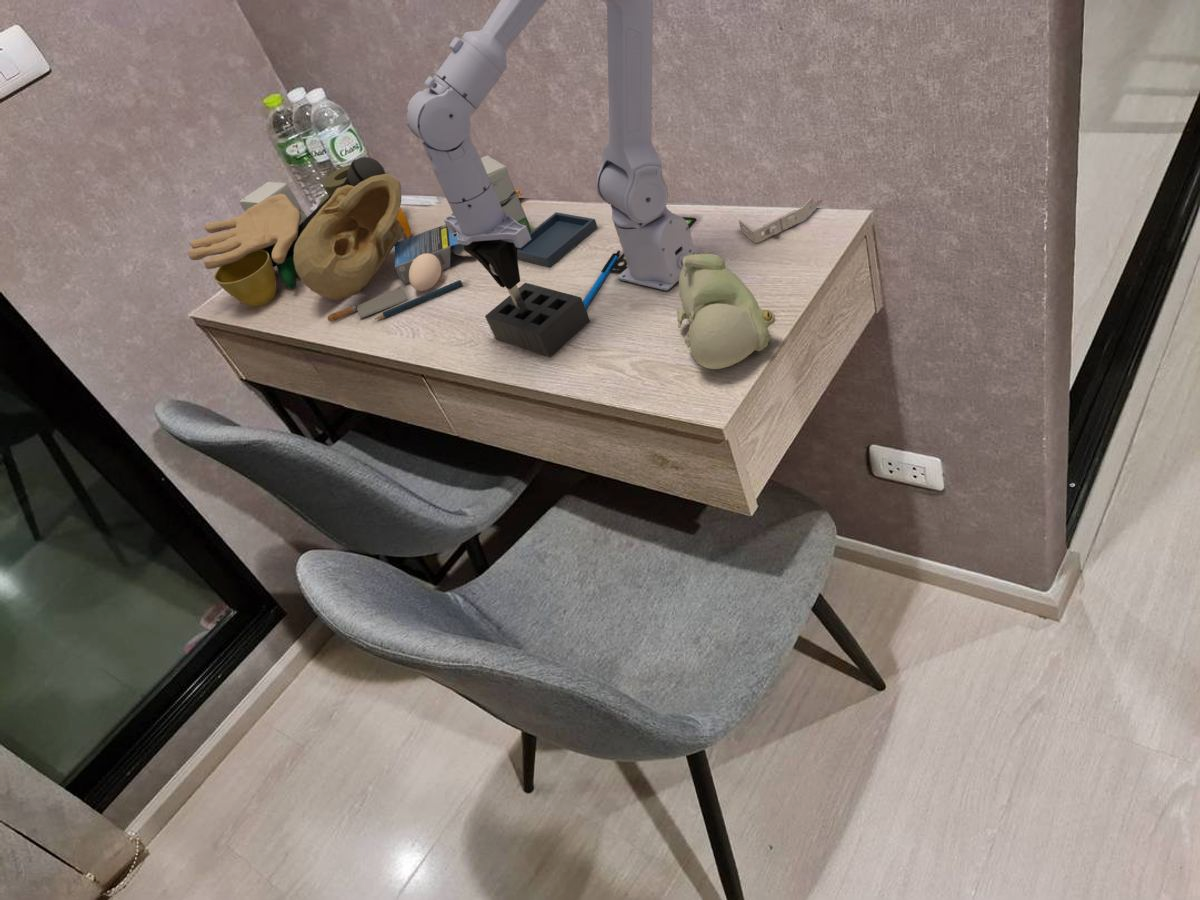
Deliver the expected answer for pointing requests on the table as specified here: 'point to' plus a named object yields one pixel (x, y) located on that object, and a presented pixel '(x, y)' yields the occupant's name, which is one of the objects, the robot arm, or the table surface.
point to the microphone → (351, 180)
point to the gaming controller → (288, 272)
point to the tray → (555, 238)
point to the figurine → (720, 313)
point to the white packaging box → (271, 190)
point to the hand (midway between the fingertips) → (510, 283)
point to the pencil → (420, 299)
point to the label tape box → (424, 249)
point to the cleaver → (373, 305)
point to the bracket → (780, 222)
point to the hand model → (250, 233)
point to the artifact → (459, 249)
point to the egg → (424, 272)
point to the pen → (601, 278)
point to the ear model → (349, 237)
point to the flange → (335, 181)
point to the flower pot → (249, 279)
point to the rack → (539, 319)
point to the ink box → (505, 190)
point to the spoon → (515, 297)
